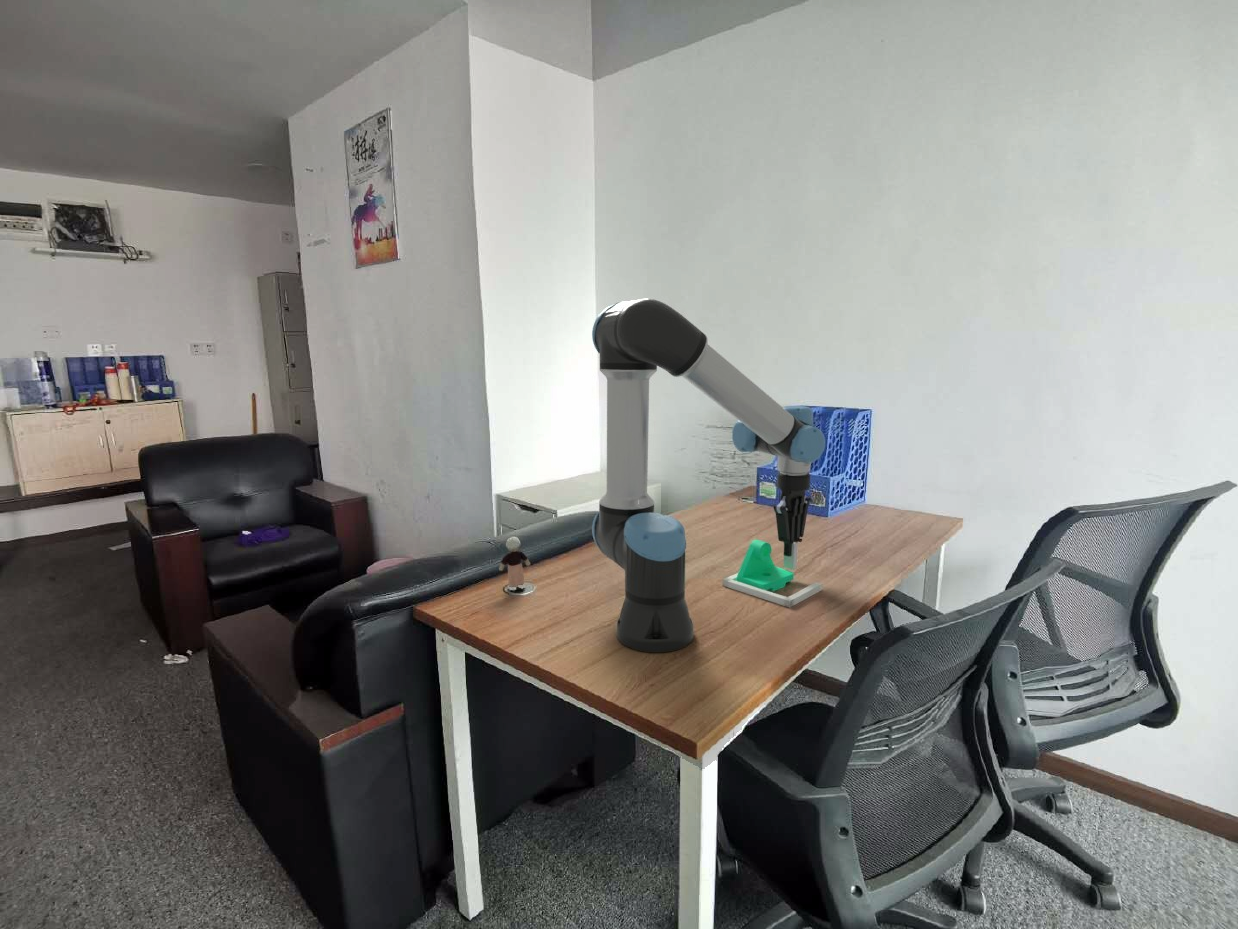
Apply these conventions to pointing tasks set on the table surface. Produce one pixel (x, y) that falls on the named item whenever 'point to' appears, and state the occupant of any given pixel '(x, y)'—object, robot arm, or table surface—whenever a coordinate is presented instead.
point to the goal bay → (770, 596)
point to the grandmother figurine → (514, 562)
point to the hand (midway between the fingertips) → (789, 567)
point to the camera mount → (762, 568)
